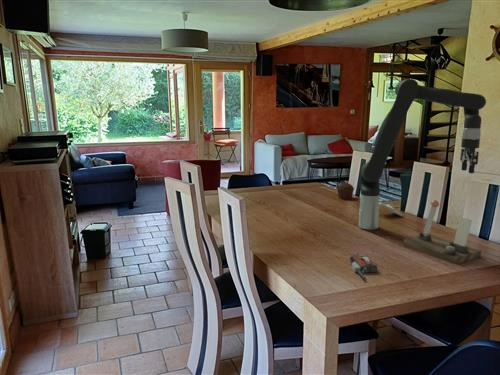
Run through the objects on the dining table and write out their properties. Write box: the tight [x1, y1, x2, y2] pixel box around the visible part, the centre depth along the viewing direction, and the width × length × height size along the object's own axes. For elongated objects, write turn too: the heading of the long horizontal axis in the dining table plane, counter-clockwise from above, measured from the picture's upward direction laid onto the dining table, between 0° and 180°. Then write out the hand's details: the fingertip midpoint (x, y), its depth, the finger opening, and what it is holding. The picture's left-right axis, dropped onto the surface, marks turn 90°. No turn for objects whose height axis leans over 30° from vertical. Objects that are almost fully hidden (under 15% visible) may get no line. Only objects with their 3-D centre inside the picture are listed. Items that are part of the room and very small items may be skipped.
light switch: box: [379, 201, 404, 218], centre depth 223 cm, size 8×6×14 cm
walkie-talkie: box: [349, 254, 378, 280], centre depth 149 cm, size 9×4×20 cm
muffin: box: [336, 182, 355, 200], centre depth 266 cm, size 12×11×10 cm
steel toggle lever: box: [422, 199, 440, 237], centre depth 174 cm, size 3×3×17 cm
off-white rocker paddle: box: [453, 217, 473, 249], centre depth 160 cm, size 1×4×12 cm, turn 28°
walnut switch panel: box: [403, 232, 482, 265], centre depth 167 cm, size 16×25×5 cm, turn 28°
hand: (467, 171), depth 189 cm, fingers open, 8 cm apart
